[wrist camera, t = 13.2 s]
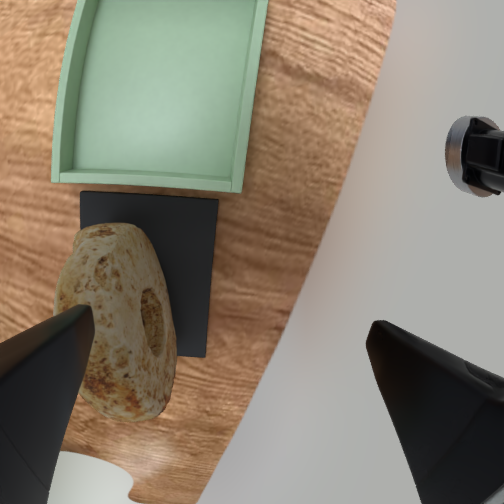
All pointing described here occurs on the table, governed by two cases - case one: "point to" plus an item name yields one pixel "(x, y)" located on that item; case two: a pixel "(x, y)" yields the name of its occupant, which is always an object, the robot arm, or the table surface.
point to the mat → (169, 251)
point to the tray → (158, 93)
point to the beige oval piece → (122, 321)
